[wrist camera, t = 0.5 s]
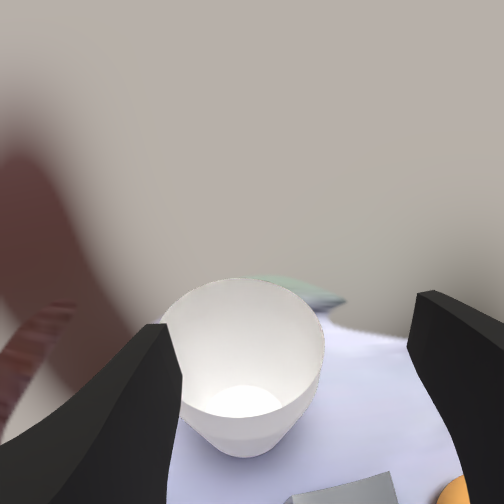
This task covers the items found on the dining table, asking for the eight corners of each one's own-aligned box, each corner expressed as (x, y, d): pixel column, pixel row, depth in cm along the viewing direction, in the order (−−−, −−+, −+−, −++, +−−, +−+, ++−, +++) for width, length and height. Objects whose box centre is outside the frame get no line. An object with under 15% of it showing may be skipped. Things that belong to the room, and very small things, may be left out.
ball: (479, 517, 13) (515, 505, 10) (431, 543, 13) (465, 539, 10) (465, 472, 17) (499, 454, 14) (418, 494, 17) (450, 482, 13)
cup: (174, 395, 25) (134, 303, 17) (269, 360, 28) (275, 259, 20) (214, 488, 19) (181, 450, 11) (320, 442, 22) (363, 370, 14)
